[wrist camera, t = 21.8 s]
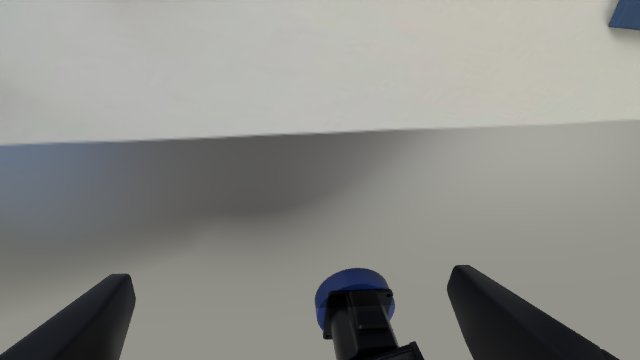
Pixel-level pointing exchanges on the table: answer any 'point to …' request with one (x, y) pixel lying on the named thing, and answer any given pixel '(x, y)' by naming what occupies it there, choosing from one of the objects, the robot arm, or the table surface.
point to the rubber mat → (626, 15)
